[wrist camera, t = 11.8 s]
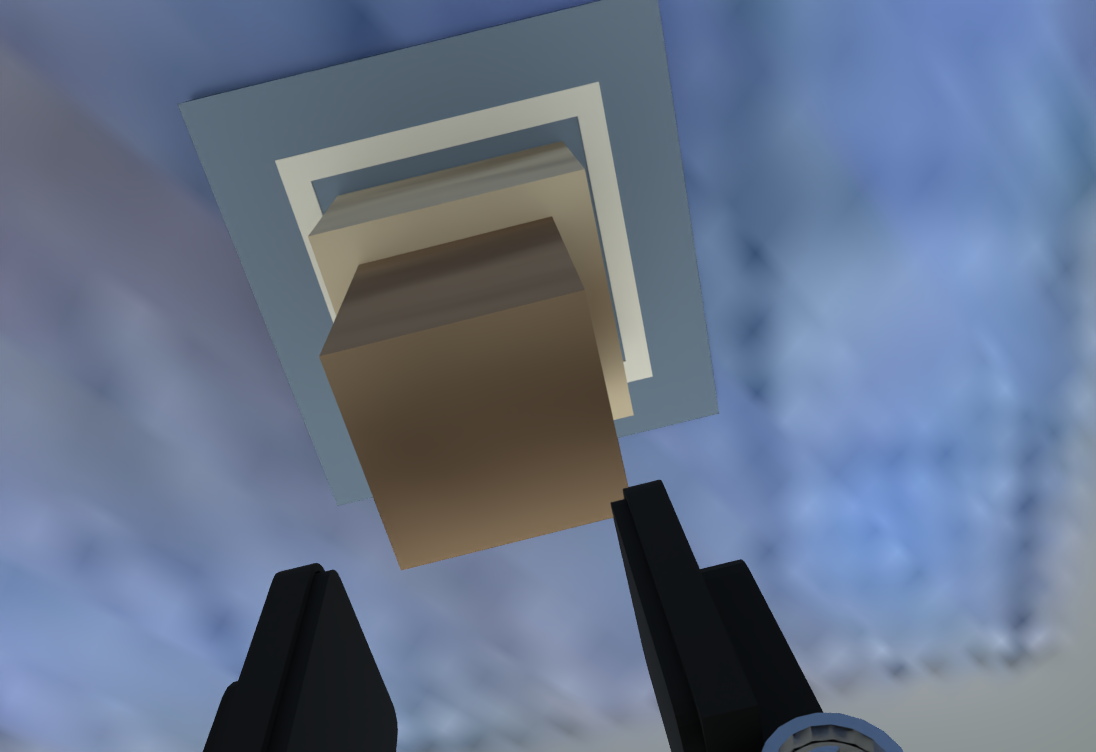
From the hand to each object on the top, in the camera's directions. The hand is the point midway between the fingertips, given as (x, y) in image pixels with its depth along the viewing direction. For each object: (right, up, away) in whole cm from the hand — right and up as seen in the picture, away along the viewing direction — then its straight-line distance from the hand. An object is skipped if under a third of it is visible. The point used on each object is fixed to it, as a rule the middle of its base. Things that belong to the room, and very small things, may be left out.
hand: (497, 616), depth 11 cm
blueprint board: (-2, +7, +16) cm, 17 cm away
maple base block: (-2, +6, +15) cm, 16 cm away
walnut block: (-1, +4, +10) cm, 11 cm away
